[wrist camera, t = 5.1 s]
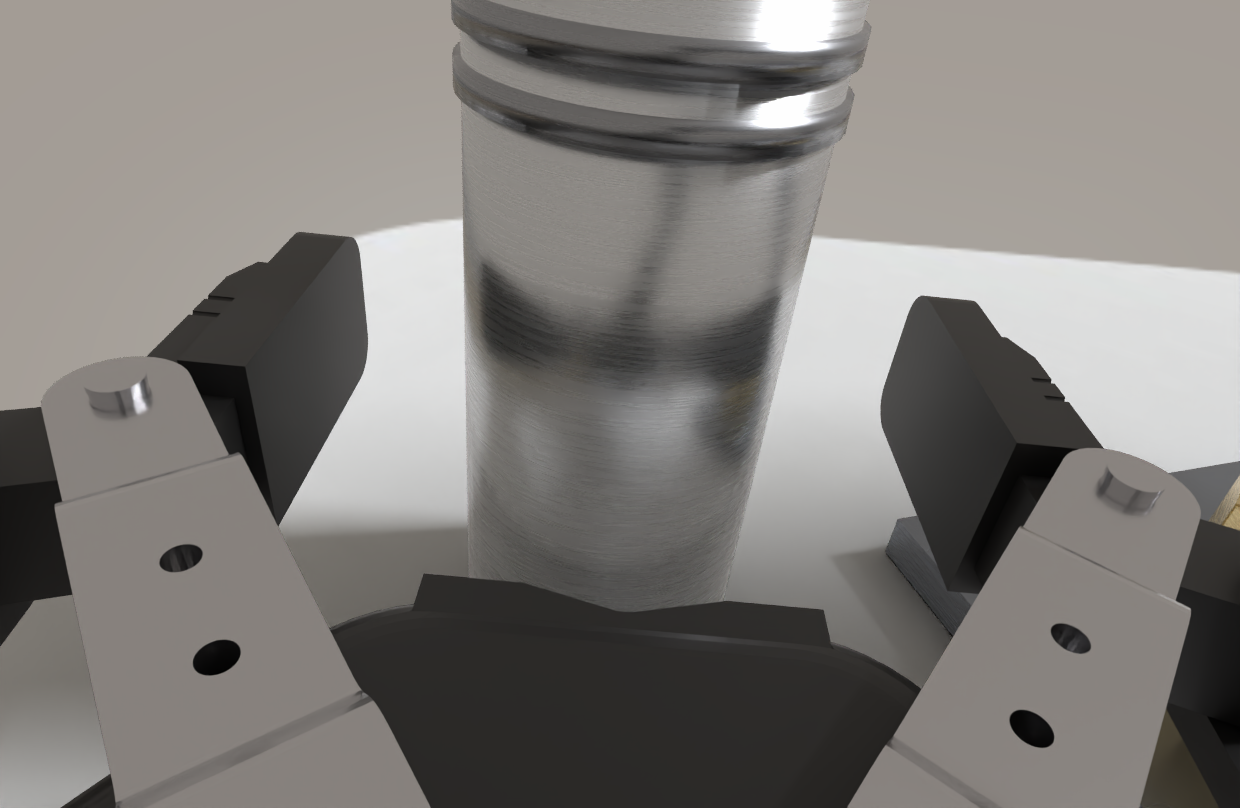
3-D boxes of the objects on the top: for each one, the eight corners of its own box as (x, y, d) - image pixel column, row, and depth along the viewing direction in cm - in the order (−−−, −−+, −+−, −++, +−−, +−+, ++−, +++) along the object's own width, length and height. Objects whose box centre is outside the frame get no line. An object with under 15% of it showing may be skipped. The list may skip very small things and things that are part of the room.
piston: (667, 504, 19) (766, -79, 12) (764, 685, 15) (986, -29, 8) (446, 537, 18) (423, -112, 11) (489, 748, 14) (494, -69, 7)
